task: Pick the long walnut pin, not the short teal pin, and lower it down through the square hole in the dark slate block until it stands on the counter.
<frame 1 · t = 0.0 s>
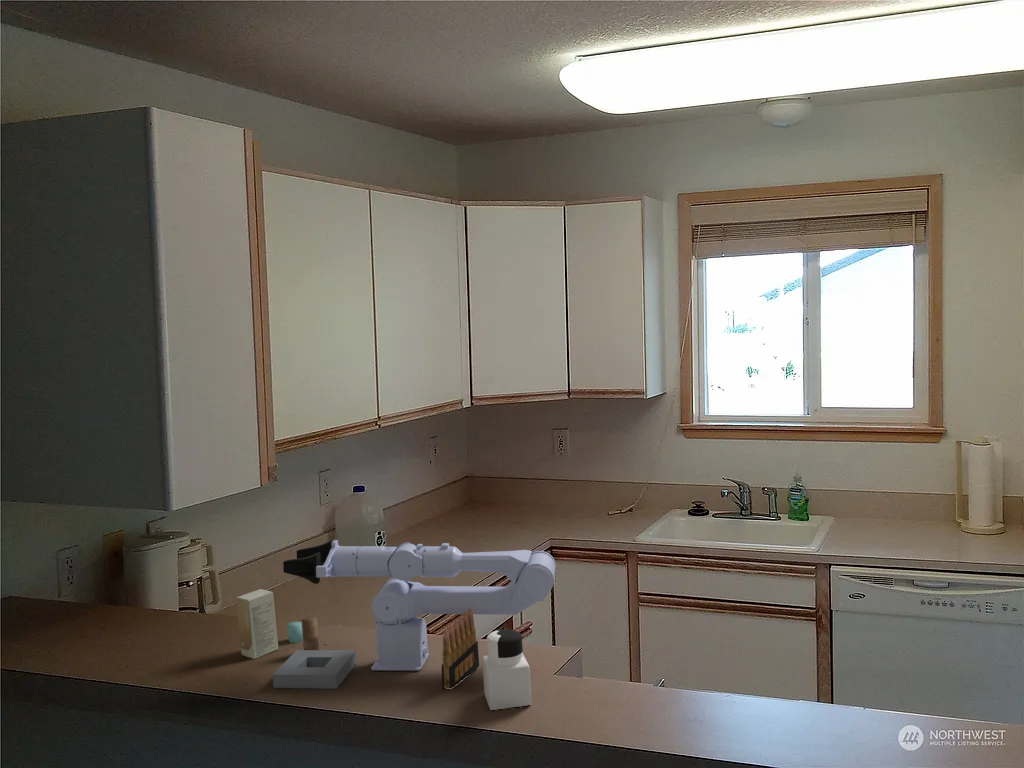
hand: (290, 561, 183), 21 cm above the countertop, tool horizontal, fingers open, 7 cm apart
short teal pin: (295, 640, 199), on the countertop
slate hole block: (316, 675, 179), on the countertop
medicine bottle: (507, 701, 164), on the countertop
skincare box: (259, 653, 193), on the countertop
ammunition clip: (461, 679, 174), on the countertop, touching arm
long walnut pin: (311, 653, 191), on the countertop
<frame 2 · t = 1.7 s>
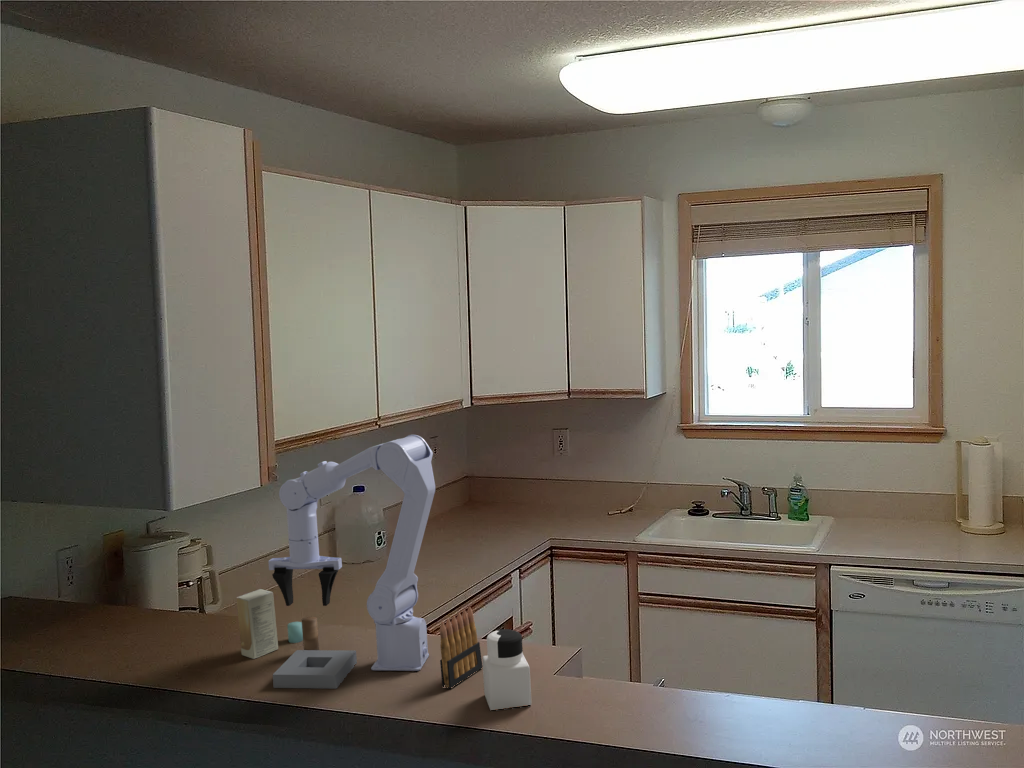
hand: (308, 604, 190), 10 cm above the countertop, tool pointing down, fingers open, 7 cm apart
ammunition clip: (463, 679, 174), on the countertop
everything else where it was.
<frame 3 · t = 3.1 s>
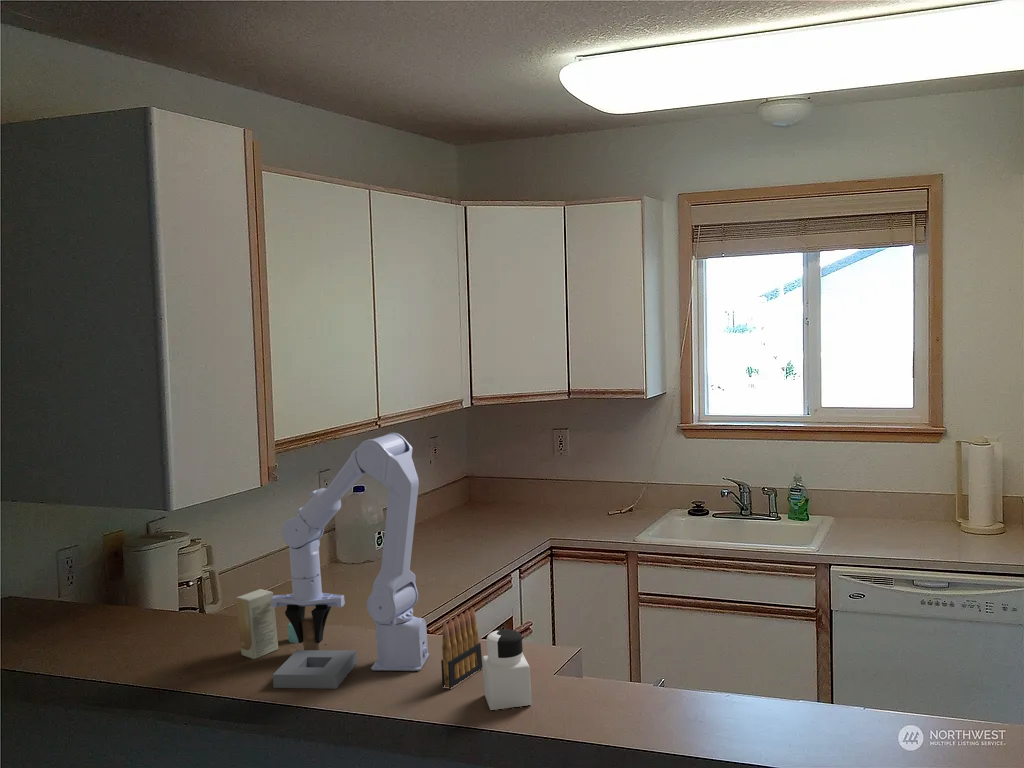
hand: (310, 641, 191), 2 cm above the countertop, tool pointing down, fingers closed on long walnut pin, 3 cm apart
long walnut pin: (311, 653, 191), on the countertop, touching gripper
everything else where it was.
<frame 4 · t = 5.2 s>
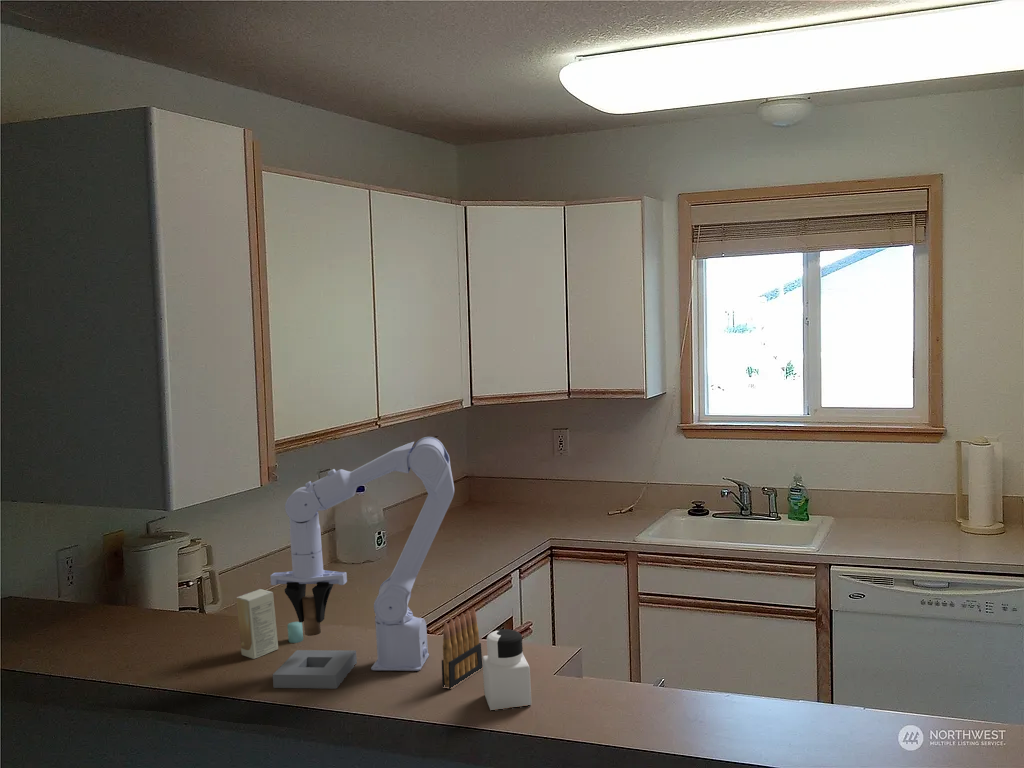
hand: (311, 620, 182), 9 cm above the countertop, tool pointing down, fingers closed on long walnut pin, 3 cm apart
long walnut pin: (312, 633, 182), point 7 cm above the countertop, touching gripper
everything else where it was.
when the fingers open (4 cm above the countertop, at t = 7.2 s): long walnut pin drops 1 cm, resting in slate hole block.
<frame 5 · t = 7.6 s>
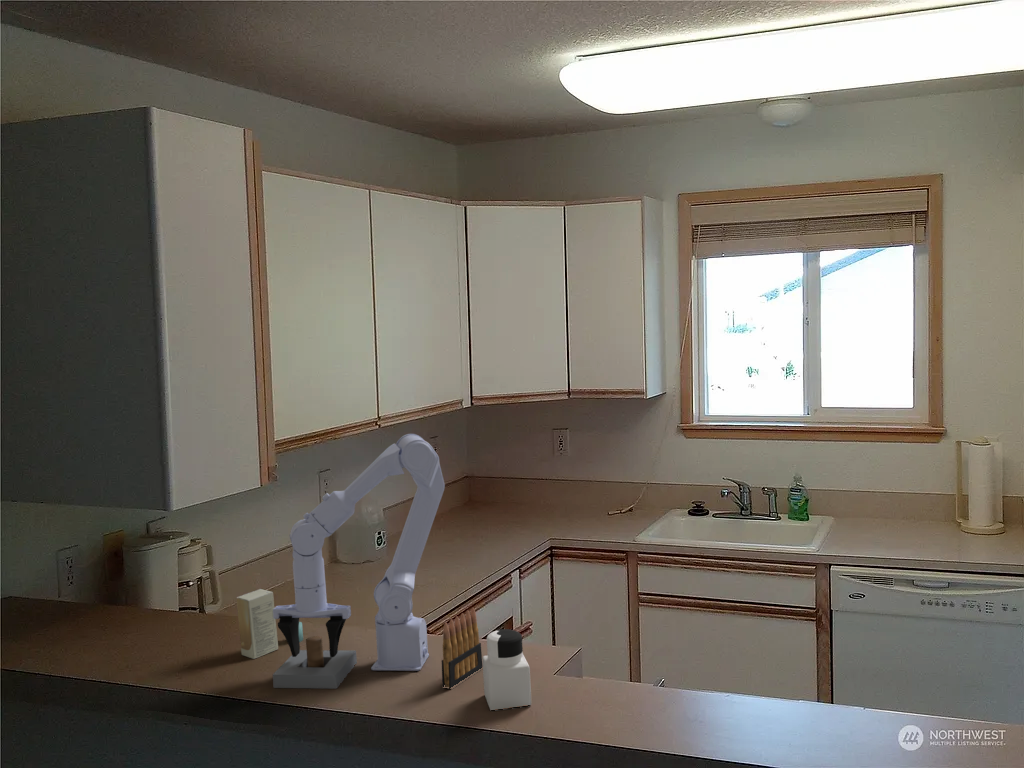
hand: (314, 654, 179), 4 cm above the countertop, tool pointing down, fingers open, 7 cm apart
long walnut pin: (316, 675, 179), resting in slate hole block
everything else where it was.
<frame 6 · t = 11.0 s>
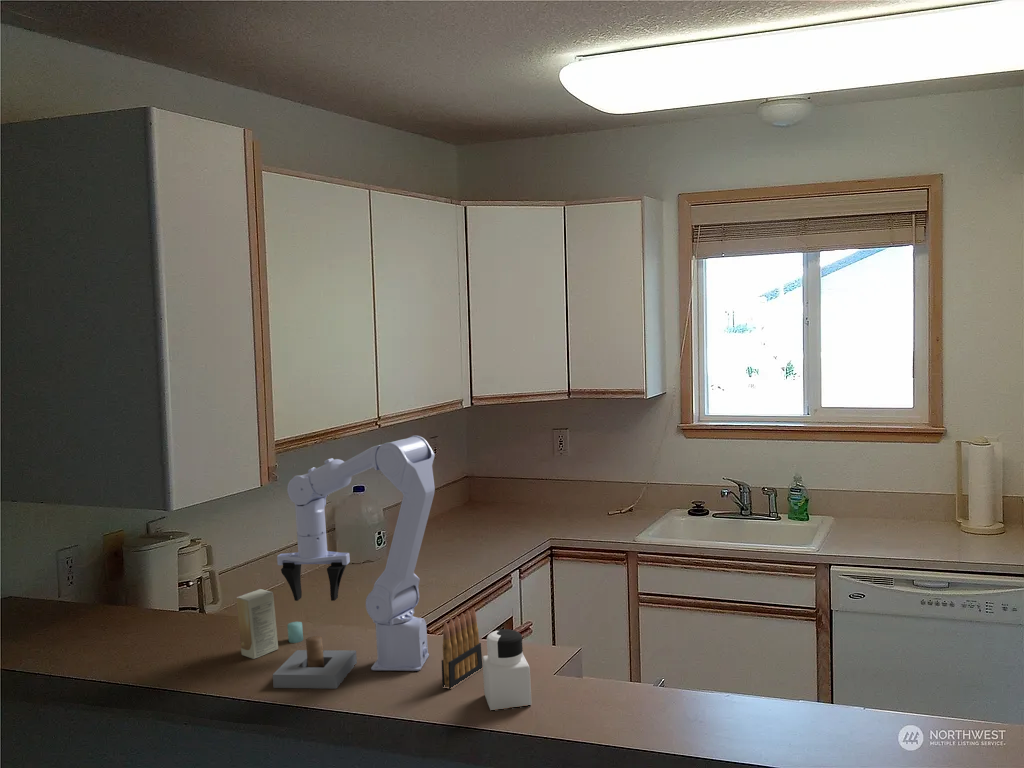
hand: (316, 599, 192), 10 cm above the countertop, tool pointing down, fingers open, 7 cm apart
nothing on the countertop moved.
at the end: long walnut pin 0.1 cm off-centre on the slate hole block, point 0.0 cm above the slate hole block's base; long walnut pin tilted 0°; the gripper is holding nothing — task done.
